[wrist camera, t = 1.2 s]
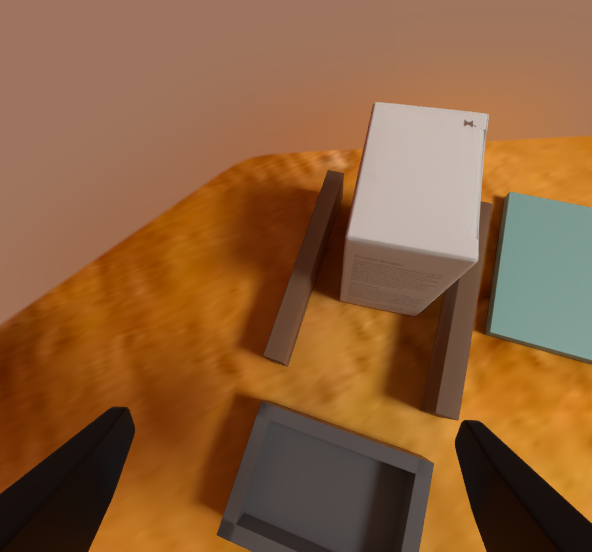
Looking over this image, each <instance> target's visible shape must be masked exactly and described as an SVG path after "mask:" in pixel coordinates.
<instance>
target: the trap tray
mask: <svg viewBox="0 0 592 552" xmlns="http://www.w3.org/2000/svg"><path fill="white" fill-rule="evenodd" d="M433 466H434V463H432V462H431V461H429V460H428V459H426V458H424V457H423V456H421V455H418V454H415V453H412V452H410V451H407V450H404V449H401V448H398V447H396V446H393V445H390V444H387V443H384V442H382V441H379V440H376V439H373V438H370V437H368V436H365V435H362V434H359V433H357V432H354V431H351V430H348V429H345V428H343V427H340V426H337V425H334V424H331V423H329V422H326V421H323V420H320V419H317V418H315V417H312V416H309V415H306V414H303V413H301V412H298V411H295V410H292V409H289V408H287V407H284V406H281V405H278V404H275V403H273V402H270V401H261V404H260V407H259V410H258V413H257V416H256V419H255V422H254V425H253V428H252V431H251V434H250V437H249V440H248V443H247V446H246V449H245V452H244V455H243V458H242V461H241V464H240V467H239V470H238V473H237V476H236V479H235V482H234V485H233V488H232V491H231V494H230V497H229V500H228V503H227V506H226V509H225V512H224V515H223V518H222V521H221V524H220V527H219V530H218V533H217V536H220V537H222V538H224V539H226V540H228V541H230V542H233V543H235V544H237V545H239V546H241V547H244V548H246V549H248V550H250V551H252V552H419V548H420V542H421V536H422V530H423V525H424V519H425V513H426V507H427V501H428V496H429V490H430V484H431V478H432V472H433Z"/></svg>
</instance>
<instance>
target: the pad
mask: <svg viewBox="0 0 592 552" xmlns="http://www.w3.org/2000/svg"><path fill="white" fill-rule="evenodd" d="M485 334H486V335H489V336H493V337H496V338H500V339H503V340H507V341H511V342H514V343H518V344H521V345H525V346H529V347H532V348H536V349H539V350H543V351H547V352H550V353H554V354H557V355H561V356H565V357H568V358H572V359H575V360H579V361H582V362H586V363H590V364H592V208H590V207H585V206H580V205H575V204H570V203H565V202H560V201H555V200H550V199H545V198H540V197H535V196H530V195H524V194H519V193H514V192H509V193H508V194H507V196H506V197H505V199H504V206H503V213H502V220H501V226H500V233H499V240H498V247H497V254H496V261H495V268H494V275H493V282H492V289H491V295H490V302H489V309H488V316H487V323H486V330H485Z"/></svg>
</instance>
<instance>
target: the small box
mask: <svg viewBox="0 0 592 552" xmlns="http://www.w3.org/2000/svg"><path fill="white" fill-rule="evenodd" d="M488 119H489V115H488V114H485V113H476V112H468V111H459V110H450V109H440V108H430V107H420V106H411V105H402V104H391V103H380V102H375V103H374V104H373V107H372V112H371V117H370V122H369V126H368V131H367V135H366V140H365V144H364V149H363V153H362V158H361V162H360V167H359V171H358V176H357V181H356V186H355V191H354V196H353V201H352V206H351V210H350V216H349V221H348V226H347V231H346V235H345V245H344V257H343V270H342V271H343V272H342V280H341V293H340V301H343V302H347V303H352V304H357V305H361V306H366V307H371V308H376V309H381V310H385V311H390V312H395V313H400V314H405V315H410V316H417V315H418V314H419V313H420V312H421V311H422V310H423V309H425V308H426V307H427V306H428V305H429V304H430V303H431V302H433V301H434V300H435V299H436V298H437V297H438V296H439V295H441V294H442V293H443V292H444V291H445V290H446V289H447V288H449V287H450V286H451V285H452V284H453V283H454V282H455V281H456V280H457V279H459V278H460V277H461V276H462V275H463V274H464V273H465V272H466V271H467V270H468V269H470V268H471V267H472V266H473V265H474V264H475V263H476V262H477V261H478V256H479V251H478V248H479V217H480V202H481V187H482V174H483V162H484V150H485V140H486V132H487V126H488Z"/></svg>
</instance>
